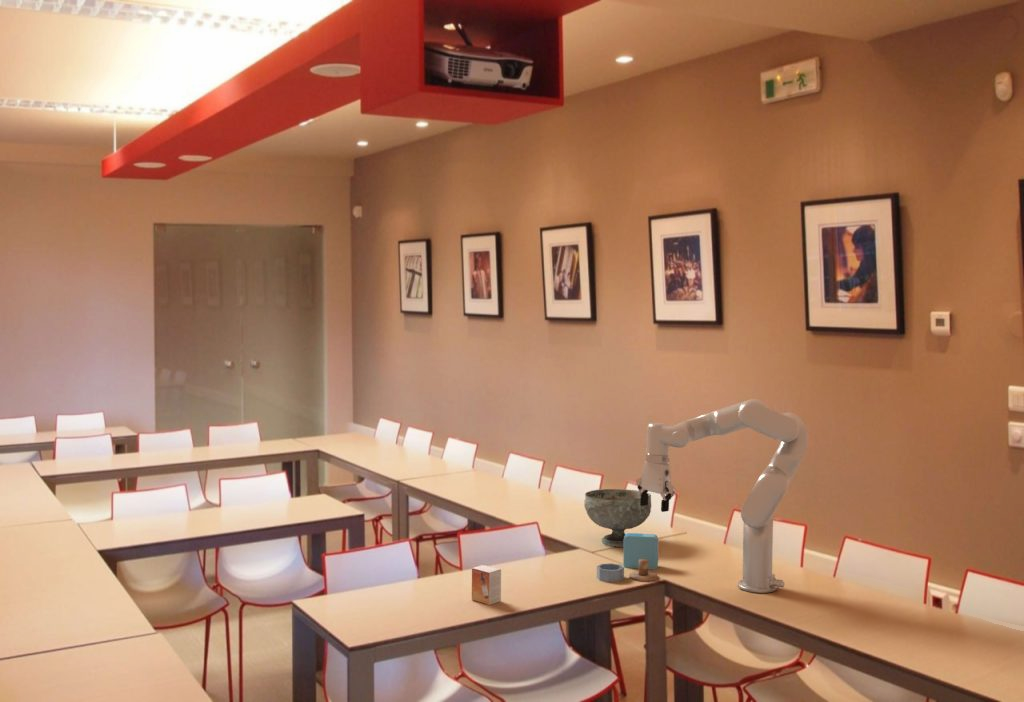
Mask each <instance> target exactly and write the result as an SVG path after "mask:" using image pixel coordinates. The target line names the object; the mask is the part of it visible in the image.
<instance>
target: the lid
mask: <svg viewBox="0 0 1024 702" xmlns="http://www.w3.org/2000/svg"><path fill="white" fill-rule="evenodd" d="M628 575H629V576H628V578H630V579H629V580H632V581H637V582H645V581H650V582H654V581H656V580H658V578H657V576H658V574H657V573H656V572H654V571H651V570H649V569H648V560H647V559H639V568H638V570H635V571H631V572H629V574H628ZM645 583H646V582H645Z"/></svg>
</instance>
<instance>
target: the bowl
mask: <svg viewBox="0 0 1024 702" xmlns="http://www.w3.org/2000/svg"><path fill="white" fill-rule="evenodd" d="M596 578H597V580H599V581H600V582H606V583H619V582H621V581H623V580H625V567H624V565H622V564H620V563H618V564H617V563H611V562H610V563H601V564H598V565H596Z"/></svg>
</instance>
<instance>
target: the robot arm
mask: <svg viewBox="0 0 1024 702" xmlns="http://www.w3.org/2000/svg"><path fill="white" fill-rule="evenodd" d="M746 428H749V429H750V430H753V431H755V432H757V433H760V434H762V435H765V436H766V437H768V438H771V439H772V440H773V439H774V440H776V441H778V442H780V443H779V445H778V447H777V449H776V450H775V453H774V454H773V456H772V457H771V460H770V461H769V463H768V464H767V466H766V467H765V468H764V470H762V472H761V473H760V475H759V477H758V479H757V480H756V482H755V483H754V485H753V487H752V489H751V491H750V492H749V494H748V496H747V497H746V498H745V500H744V501H743V503H742V506H741V508H740V517H741V520H742V521H743V531H742V534H743V535H742V536H743V538H742V580H738V582H737V587H738V588H739V589H740V590H742V591H746V592H749V593H756V594H757V593H758V594H764V593H765V594H766V593H771V592H775V591H776V590H777V589H778V587H779V588H784V587H785V581H784V580H783V579H777V577H776V574H774V573H773V548H774V547H773V546H774V545H773V543H774V541H773V540H774V517H775V515H774V514H775V512H776V510H777V508H778V507H779V505H780V504H781V502H782V501H783V498H784V497H785V495H786V493H787V492H788V489H789V487H790V486H789V485H790V482H791V481H792V479H793V477H794V476H795V473H796V472H797V470H798V468H799V467H800V464H801V463H802V461H803V459H804V457H805V455H806V452H807V449H808V445H809V436H808V431H807V428H806V425H805V424H804V423H803V420H802V419H801V418H800V417H799V416H798V415H797V414H795V413H793V412H783V413H780V412H778V411H775V410H773V409H771V408H769V407H767V406H766V404H765V403H764V402H763V401H762V400H761V399H760V398H759V399H758V398H751V399H747V400H744V401H741V402H738V403H735V404H734V403H733V404H732V405H728V406H725V407H723V408H719V409H716V410H713V411H711V412H709V413H705V414H702V415H700V416H696V417H693V418H689V419H686V420H684V421H681V422H679V423H677V424H675V425H669V424H668V423H667V422H666V423H665V422H658V421H657V422H656V421H655V422H650V423H648V424H647V430H646V446H645V447H646V451H645V461H644V464H643V467H642V471H641V472H642V473H641V477H640V478H637V479H636V480H635V482H636V485H637V490H638V491H639V493H640V494H641V499H640V506H645V505H648V494H647V493H649V492H652V493H655V494H660V496H661V498H662V500H661V503H660V504H661V505H660V512H662V513H663V512H669V510H670V500H672V498H673V497H674V494H675V492H676V491H677V489H676V488H675V487H674V486H673V485H672V474H671V473H672V471H671V466H670V463H669V462H670V457H669V449H670V447H673V448H678V449H679V448H684V447H686V446H687V445H689V443H692V442H695V441H699V440H701V439H705V438H708V437H713V436H724V435H727V434H730V433H734V432H738V431H740V430H744V429H746Z"/></svg>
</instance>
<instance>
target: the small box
mask: <svg viewBox="0 0 1024 702" xmlns="http://www.w3.org/2000/svg"><path fill="white" fill-rule="evenodd" d="M501 594H502V569H501V568H496V567H492V566H489V565H485V564H481V565H478V566H475V567H472V568H471V600H472V601H475V602H478V603H482V604H485V605H487V606H490V605H493V604H497V603H499V602H501V600H502V595H501Z"/></svg>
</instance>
